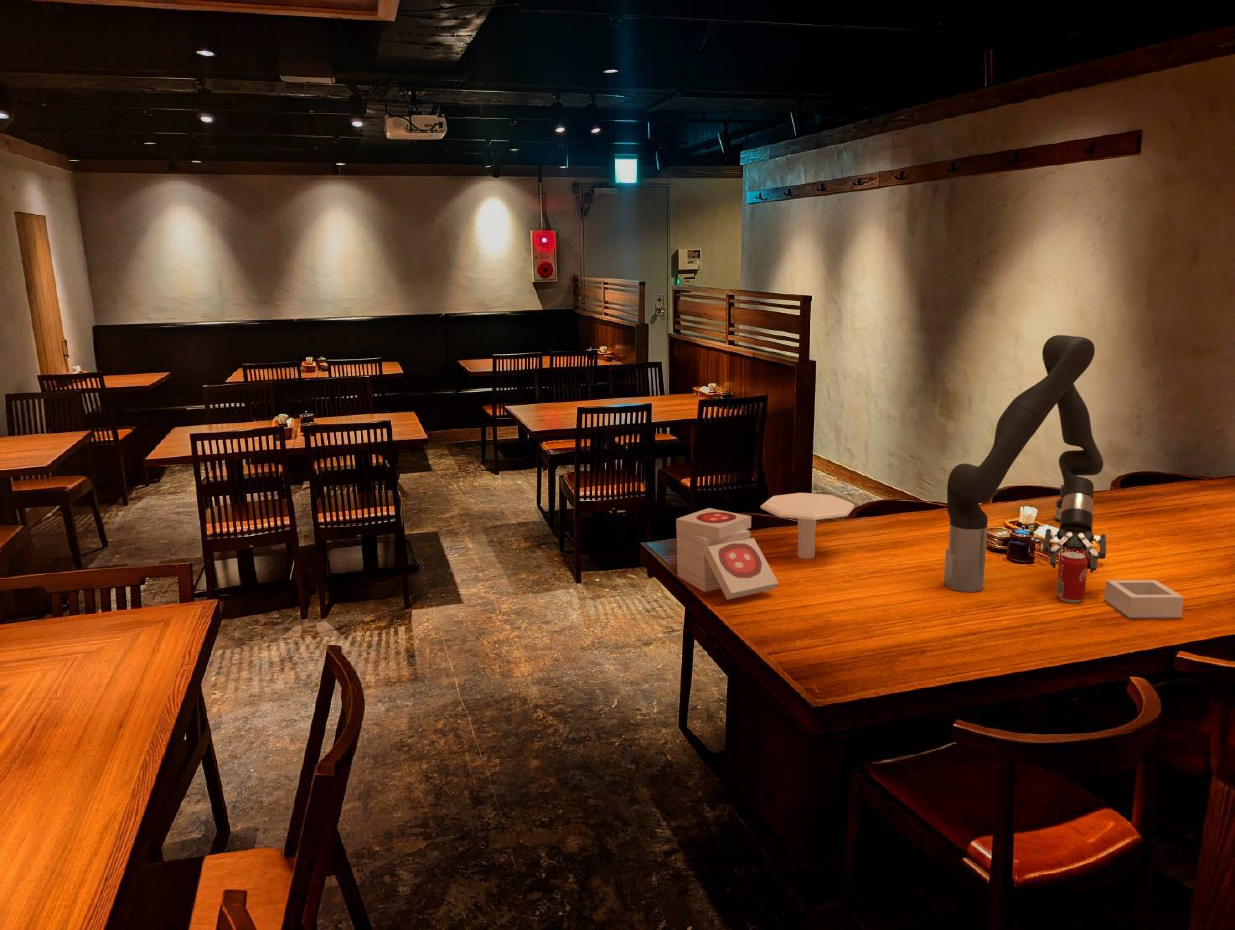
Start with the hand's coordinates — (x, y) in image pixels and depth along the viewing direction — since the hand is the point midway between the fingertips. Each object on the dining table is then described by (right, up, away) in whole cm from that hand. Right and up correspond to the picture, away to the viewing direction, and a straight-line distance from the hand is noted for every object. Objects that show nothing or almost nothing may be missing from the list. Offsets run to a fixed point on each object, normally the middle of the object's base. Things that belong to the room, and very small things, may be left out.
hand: (1072, 568), depth 216 cm
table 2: (-59, -1, +41) cm, 72 cm away
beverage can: (0, -8, +1) cm, 8 cm away
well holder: (+13, -9, -7) cm, 18 cm away
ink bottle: (+36, +7, +69) cm, 78 cm away
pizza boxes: (-87, -7, +19) cm, 89 cm away
